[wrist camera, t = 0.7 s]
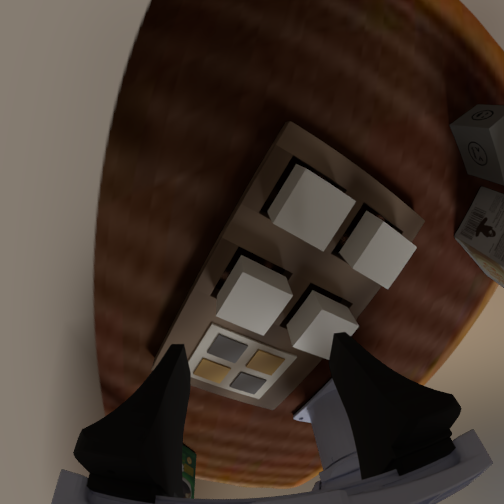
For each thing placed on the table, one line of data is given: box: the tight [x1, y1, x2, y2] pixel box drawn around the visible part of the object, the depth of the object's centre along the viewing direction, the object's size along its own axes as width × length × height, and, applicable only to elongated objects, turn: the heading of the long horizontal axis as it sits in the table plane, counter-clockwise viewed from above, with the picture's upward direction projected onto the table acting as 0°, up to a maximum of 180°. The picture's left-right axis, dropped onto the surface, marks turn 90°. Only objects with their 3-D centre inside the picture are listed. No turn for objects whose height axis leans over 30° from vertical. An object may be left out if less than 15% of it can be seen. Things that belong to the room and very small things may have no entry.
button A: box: [286, 290, 359, 360], centre depth 21 cm, size 4×4×3 cm
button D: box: [267, 164, 356, 252], centre depth 17 cm, size 4×4×3 cm
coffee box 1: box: [182, 445, 196, 499], centre depth 25 cm, size 8×3×13 cm, turn 26°
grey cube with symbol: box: [449, 104, 504, 186], centre depth 17 cm, size 5×5×5 cm
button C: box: [339, 210, 417, 289], centre depth 19 cm, size 4×4×3 cm
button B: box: [216, 255, 293, 336], centre depth 19 cm, size 4×4×3 cm
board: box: [152, 121, 425, 410], centre depth 22 cm, size 13×23×2 cm, turn 150°
